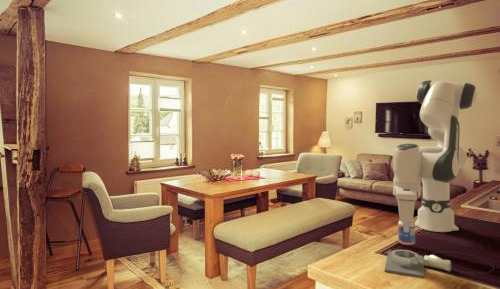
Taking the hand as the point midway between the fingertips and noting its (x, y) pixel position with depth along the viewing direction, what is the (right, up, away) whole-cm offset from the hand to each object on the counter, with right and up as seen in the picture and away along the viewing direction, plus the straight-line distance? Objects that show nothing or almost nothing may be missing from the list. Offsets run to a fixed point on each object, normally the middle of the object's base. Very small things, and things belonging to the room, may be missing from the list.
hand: (406, 229), depth 122 cm
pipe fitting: (+11, -13, -1) cm, 17 cm away
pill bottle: (0, -5, 0) cm, 5 cm away
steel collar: (0, -13, +1) cm, 13 cm away
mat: (0, -13, +1) cm, 13 cm away
